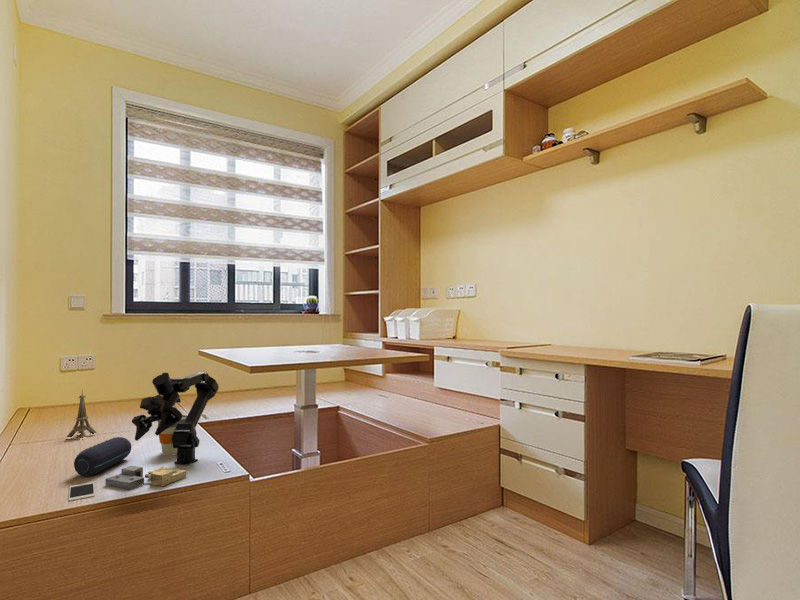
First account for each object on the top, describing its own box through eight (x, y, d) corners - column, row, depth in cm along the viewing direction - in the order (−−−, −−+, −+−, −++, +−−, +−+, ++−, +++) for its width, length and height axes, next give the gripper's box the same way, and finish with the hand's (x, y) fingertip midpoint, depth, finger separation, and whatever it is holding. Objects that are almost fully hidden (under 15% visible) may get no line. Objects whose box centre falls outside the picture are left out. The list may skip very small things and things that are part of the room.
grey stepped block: (131, 476, 174) (131, 465, 174) (154, 480, 170) (154, 469, 170) (105, 485, 165) (105, 474, 165) (129, 489, 160) (129, 478, 160)
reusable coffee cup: (150, 454, 201) (151, 420, 202) (174, 447, 213) (174, 414, 214) (173, 457, 197) (173, 422, 198) (195, 449, 209) (195, 415, 209)
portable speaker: (111, 458, 197) (111, 434, 198) (134, 458, 197) (134, 434, 197) (68, 479, 172) (68, 452, 172) (94, 479, 172) (94, 451, 172)
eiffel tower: (99, 434, 239) (99, 385, 240) (83, 440, 228) (83, 389, 229) (80, 434, 240) (80, 385, 241) (63, 439, 229) (64, 388, 230)
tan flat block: (162, 472, 177) (162, 462, 177) (186, 476, 172) (186, 466, 173) (137, 482, 167) (137, 471, 167) (162, 486, 163) (162, 475, 163)
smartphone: (68, 502, 151) (68, 499, 151) (69, 488, 164) (69, 485, 164) (94, 497, 155) (94, 494, 155) (93, 484, 168) (93, 481, 168)
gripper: (133, 395, 175) (109, 428, 163) (172, 383, 170) (151, 417, 158) (152, 414, 181) (131, 447, 169) (190, 403, 176) (172, 437, 164)
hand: (145, 437), depth 164 cm, fingers open, 9 cm apart
